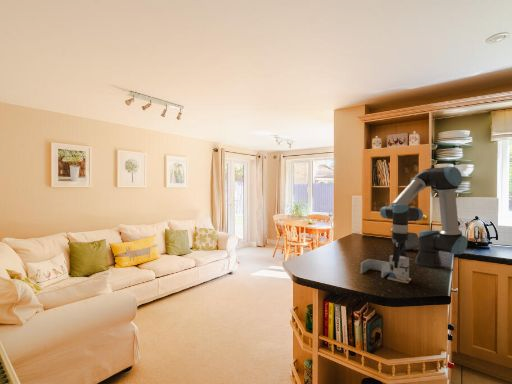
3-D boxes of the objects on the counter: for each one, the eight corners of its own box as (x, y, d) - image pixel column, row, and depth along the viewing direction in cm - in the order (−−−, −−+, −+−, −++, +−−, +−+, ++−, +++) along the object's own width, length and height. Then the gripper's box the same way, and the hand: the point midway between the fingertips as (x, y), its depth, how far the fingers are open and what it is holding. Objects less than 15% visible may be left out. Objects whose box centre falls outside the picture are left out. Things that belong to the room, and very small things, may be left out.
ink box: (388, 276, 148) (389, 255, 148) (393, 275, 151) (393, 254, 151) (404, 281, 141) (405, 258, 142) (409, 279, 144) (409, 257, 145)
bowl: (422, 250, 232) (423, 233, 232) (411, 252, 220) (411, 234, 221) (399, 246, 249) (399, 230, 249) (386, 248, 237) (387, 231, 238)
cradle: (368, 268, 168) (368, 258, 168) (390, 272, 160) (390, 262, 160) (360, 273, 157) (360, 262, 157) (383, 277, 149) (383, 266, 149)
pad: (391, 275, 153) (391, 274, 153) (411, 279, 147) (411, 278, 147) (387, 279, 146) (387, 278, 146) (407, 283, 140) (407, 282, 140)
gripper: (397, 229, 159) (397, 266, 158) (386, 233, 139) (385, 274, 139) (412, 231, 154) (411, 268, 153) (402, 235, 135) (401, 277, 134)
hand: (399, 271), depth 146 cm, fingers open, 13 cm apart
